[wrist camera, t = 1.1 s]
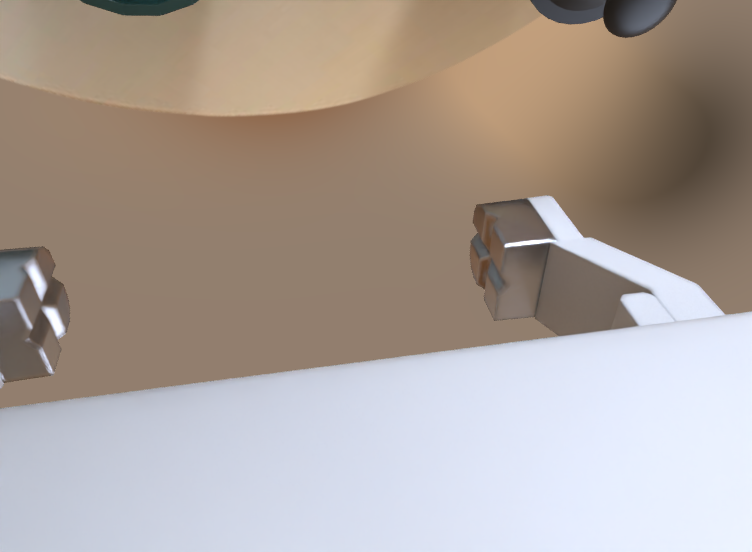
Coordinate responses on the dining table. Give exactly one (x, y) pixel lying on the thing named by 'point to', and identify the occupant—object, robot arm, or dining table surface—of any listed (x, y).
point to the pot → (140, 6)
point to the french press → (608, 13)
